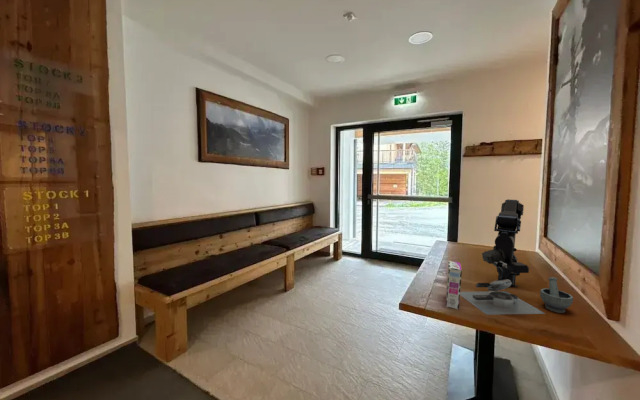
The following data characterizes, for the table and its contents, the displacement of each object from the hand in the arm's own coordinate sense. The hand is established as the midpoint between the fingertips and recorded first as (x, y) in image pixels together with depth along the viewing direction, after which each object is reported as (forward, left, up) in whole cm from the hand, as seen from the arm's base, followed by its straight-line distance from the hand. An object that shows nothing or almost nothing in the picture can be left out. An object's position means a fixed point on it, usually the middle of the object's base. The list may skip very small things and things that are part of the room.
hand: (502, 281), depth 110 cm
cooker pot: (+3, 0, -9) cm, 10 cm away
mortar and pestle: (-19, +5, -10) cm, 22 cm away
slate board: (+1, -1, -10) cm, 10 cm away
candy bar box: (+20, -1, -10) cm, 22 cm away
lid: (+3, -1, -2) cm, 4 cm away
